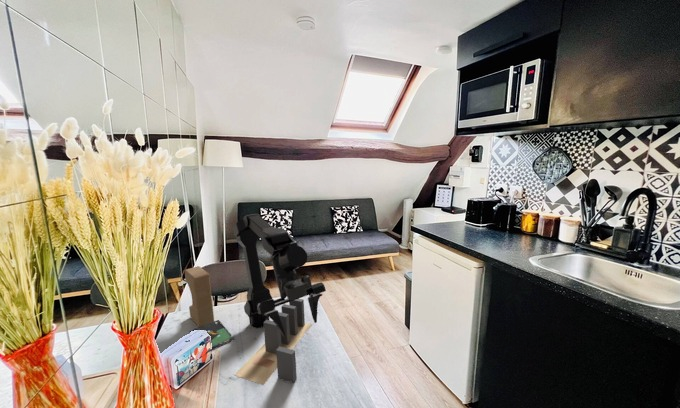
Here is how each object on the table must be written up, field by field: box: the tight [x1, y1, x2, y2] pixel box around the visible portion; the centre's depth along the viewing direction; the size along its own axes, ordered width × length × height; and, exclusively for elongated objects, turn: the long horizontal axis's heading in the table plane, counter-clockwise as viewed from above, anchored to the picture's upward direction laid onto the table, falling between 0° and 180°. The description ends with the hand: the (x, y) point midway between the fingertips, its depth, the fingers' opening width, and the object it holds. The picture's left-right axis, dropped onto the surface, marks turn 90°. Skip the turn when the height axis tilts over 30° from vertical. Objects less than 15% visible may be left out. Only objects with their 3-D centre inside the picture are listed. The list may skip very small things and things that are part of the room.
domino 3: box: [278, 311, 290, 345], centre depth 92 cm, size 2×5×10 cm, turn 69°
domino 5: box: [288, 298, 306, 327], centre depth 101 cm, size 2×5×10 cm, turn 69°
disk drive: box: [189, 319, 234, 351], centre depth 96 cm, size 10×3×15 cm
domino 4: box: [276, 346, 298, 384], centre depth 76 cm, size 2×5×10 cm, turn 69°
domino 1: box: [263, 319, 282, 354], centre depth 87 cm, size 2×5×10 cm, turn 69°
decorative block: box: [184, 265, 215, 329], centre depth 107 cm, size 11×6×20 cm, turn 43°
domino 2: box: [280, 303, 298, 336], centre depth 96 cm, size 2×5×10 cm, turn 69°
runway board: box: [234, 322, 313, 386], centre depth 90 cm, size 10×29×1 cm, turn 158°
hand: (300, 328), depth 77 cm, fingers open, 9 cm apart
